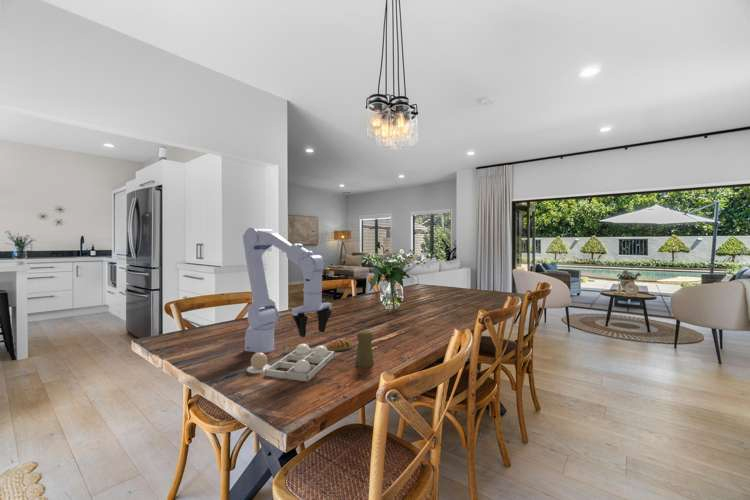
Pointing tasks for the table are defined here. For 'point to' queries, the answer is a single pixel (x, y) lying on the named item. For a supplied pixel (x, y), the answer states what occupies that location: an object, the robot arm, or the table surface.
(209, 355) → the table surface
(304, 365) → the white egg
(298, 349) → the white egg
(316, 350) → the white egg
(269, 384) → the table surface
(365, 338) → the olive green pepper mill
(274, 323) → the robot arm
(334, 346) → the pastry
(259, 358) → the brown egg
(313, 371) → the egg carton
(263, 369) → the saucer
